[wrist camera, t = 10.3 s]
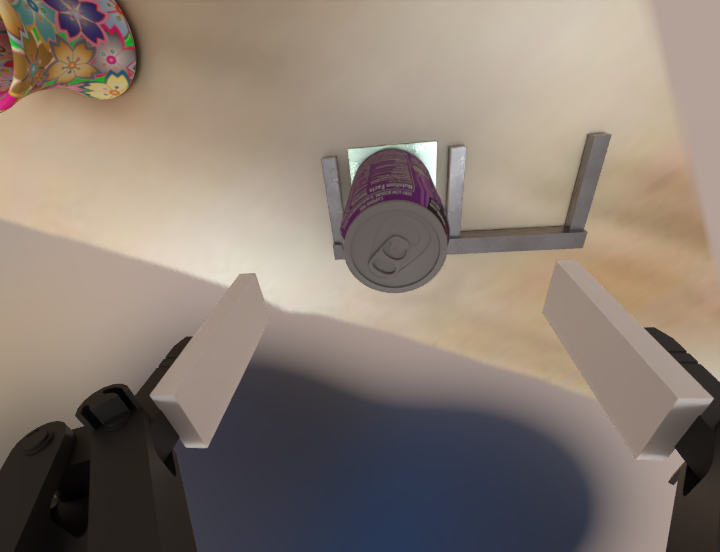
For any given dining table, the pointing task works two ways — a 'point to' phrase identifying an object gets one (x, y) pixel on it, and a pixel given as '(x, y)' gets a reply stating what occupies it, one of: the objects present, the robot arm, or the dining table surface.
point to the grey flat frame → (465, 240)
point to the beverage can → (394, 223)
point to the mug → (64, 48)
